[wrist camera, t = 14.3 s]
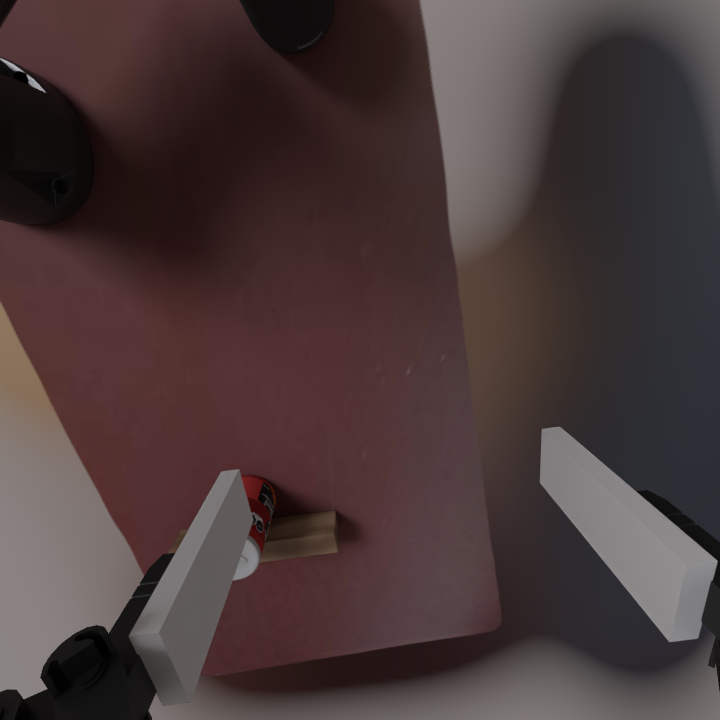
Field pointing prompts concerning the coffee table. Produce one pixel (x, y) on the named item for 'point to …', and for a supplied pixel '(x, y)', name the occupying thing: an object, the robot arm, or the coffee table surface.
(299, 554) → the board
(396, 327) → the coffee table surface
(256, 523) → the canned food
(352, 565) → the coffee table surface
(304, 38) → the pen holder
